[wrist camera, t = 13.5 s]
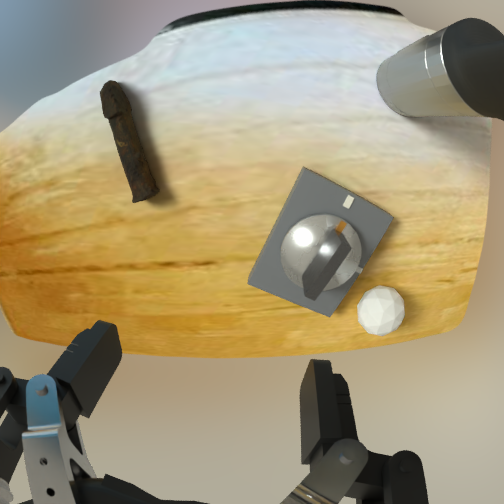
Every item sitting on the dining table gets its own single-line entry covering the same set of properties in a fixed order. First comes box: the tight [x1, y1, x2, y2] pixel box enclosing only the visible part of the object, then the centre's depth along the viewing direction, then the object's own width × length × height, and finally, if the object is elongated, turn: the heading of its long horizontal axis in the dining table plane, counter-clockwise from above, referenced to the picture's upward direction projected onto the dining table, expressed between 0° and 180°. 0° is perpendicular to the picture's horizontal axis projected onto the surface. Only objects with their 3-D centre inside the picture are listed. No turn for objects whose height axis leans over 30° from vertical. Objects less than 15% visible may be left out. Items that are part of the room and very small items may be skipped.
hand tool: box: [100, 80, 159, 203], centre depth 34 cm, size 19×4×5 cm, turn 14°
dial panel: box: [247, 167, 394, 317], centre depth 39 cm, size 18×14×3 cm
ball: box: [357, 285, 405, 336], centre depth 40 cm, size 8×8×8 cm
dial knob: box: [281, 213, 361, 301], centre depth 35 cm, size 11×11×6 cm
